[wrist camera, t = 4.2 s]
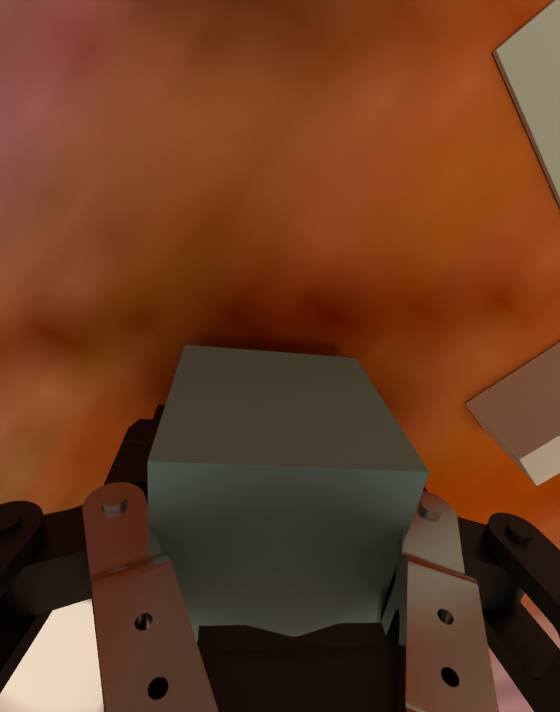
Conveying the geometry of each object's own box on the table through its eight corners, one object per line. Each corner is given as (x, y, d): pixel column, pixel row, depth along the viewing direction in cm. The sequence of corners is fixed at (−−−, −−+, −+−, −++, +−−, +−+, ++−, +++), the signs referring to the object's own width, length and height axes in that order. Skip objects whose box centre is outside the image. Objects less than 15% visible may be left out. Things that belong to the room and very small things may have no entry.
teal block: (327, 487, 15) (370, 640, 10) (180, 483, 14) (149, 645, 9) (356, 357, 13) (429, 471, 8) (184, 344, 12) (147, 461, 7)
